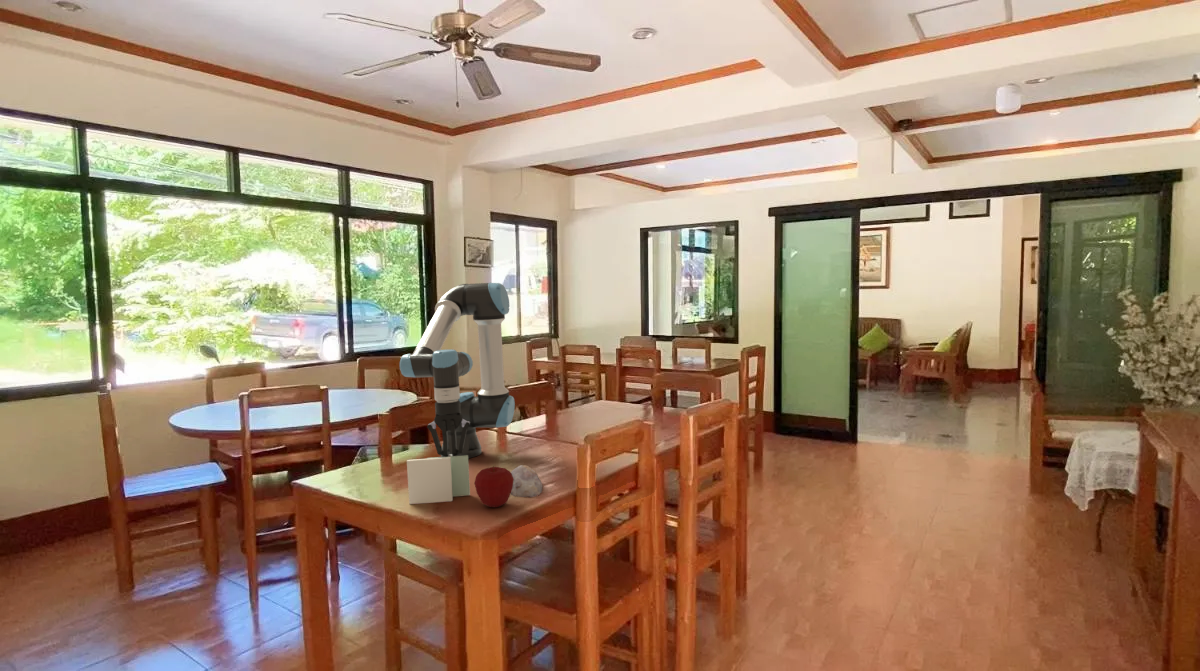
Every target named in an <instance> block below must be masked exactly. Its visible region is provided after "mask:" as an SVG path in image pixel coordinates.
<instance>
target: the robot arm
mask: <svg viewBox="0 0 1200 671" xmlns="http://www.w3.org/2000/svg"><path fill="white" fill-rule="evenodd" d="M508 294H509V293H508V292H507V288H506V287H505V286H504V285H503V284H502V283H500V282H481V283H480V282H479V283H461V284H458V285H456V286H453V287H452V288H450V289H448V291H446V292H445V293H444V294H443V295H442V296H440V298H439V299H438V300H437V303H436V304H435V307H434V314H433V316H432V318H431V319H430V321H429V322H428V325H427V327H426V328H425V330H424V332H423V334H422V335H421V337H420V340H419V341H418V343H417V345H416V347H415V348H414V351H413V353H407V354H403V355H402V356H400V361H399V370H400V373H401V375H402V376H403V377H406V378H433V390H434V392H433V393H434V400H435V402H434V407H435V408H434V409H435V411H434V412H435V413H434V414H435V416H434V418H433V421H432V422H429V423H428V424H427V425H426V426H427V427H426V428H427V429H428V431H429V432H430V433H431V437H432V440H433V443H434V446H435V449H436V452H437V455H438V456H440V457H450V456H466V455H468V459H471V458H474V457H477V456H480V455H481V454H482V446H481V443H480V440H479V437H478V435H477V432H476V431H477V429H476V428H505V427H506V428H507V427H509V426H510V424H511V423H512V421H513V418H514V414H515V406H516V405H515V404H516V403H515V402H516V401H515V398H514V396H512V395H510V391H509V389H508V388H507V387H505V373H504V354H503V336H502V333H503V332H502V323H503V321H505V319H506V317H505V316H506V315H507V314H509V313H510V299H509V295H508ZM463 316H472V320H473V321H474V323H476V324H477V334H478V335H477V336H478V350H479V367H480V368H479V371H480V385H481V387H480V389H479V390H478V392H477V396H475V394H474V392H472V391H471V392H470V391H467V392H461V393H460V388H461V387H460V377H462V376H465V375H468V373H469V372H470V371H471V370H472V368H473V365H474V361H473V358H472V356H471V355H470V354H469V353H467V352H465V351H457V350H456V349H442V348H443V346H444V344H445V342H446V340H447V338H448V336H449V334H450V331H451V329H452V328H453V325H454V324H455V322H457V321H459V319H460V318H461V317H463ZM437 427H438V429H439V430H440V431H441V433H442V434H441V435H442V445H441V441H440V438H439V434H438V432H437V429H436V428H437Z"/></svg>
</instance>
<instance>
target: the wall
mask: <svg viewBox="0 0 1200 671" xmlns="http://www.w3.org/2000/svg"><path fill="white" fill-rule="evenodd" d="M428 458H429V459H427V458H418V459H417V458H415V459H413V458H412V459H407V460H406V470H407V488H408V490H407V491H408V503H409V505H414V504H415V505H417V504H429V503H430V504H432V503H433V504H434V503H444V502H453V501H454V496H453V492H452V473H451V457H445V458H434V457H428Z"/></svg>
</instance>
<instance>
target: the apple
mask: <svg viewBox="0 0 1200 671" xmlns="http://www.w3.org/2000/svg"><path fill="white" fill-rule="evenodd" d="M513 481H514V479H513V476H512V474H511V471H510V470H509V469H507V468H506V467H501V466H491V467H487V468H483V469H481V470H480V471H479V472H478V473H477V474H476V477H475V479H474V486H475V487H474V488H475V491H476V494H477V496H478V498H479V500H480V502H481V503H482V504H483V505H485V506H487V507H489V508H500V507H501V506H504V505H505V504H506V503H508V501H509V499H510V496H511V495H512V494H511V491H512V487H513Z"/></svg>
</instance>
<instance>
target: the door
mask: <svg viewBox="0 0 1200 671" xmlns="http://www.w3.org/2000/svg"><path fill="white" fill-rule="evenodd" d="M450 457H451V473H452V492H453V497H463V496H470V495H471V488H470V487H471V486H470V485H471V484H470V470H469V469H470V468H469V467H470V466H469V458H468V455H466V456H450ZM429 458H430V457H426V459H429ZM433 458H445V457H441V456H437V457H433Z"/></svg>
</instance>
